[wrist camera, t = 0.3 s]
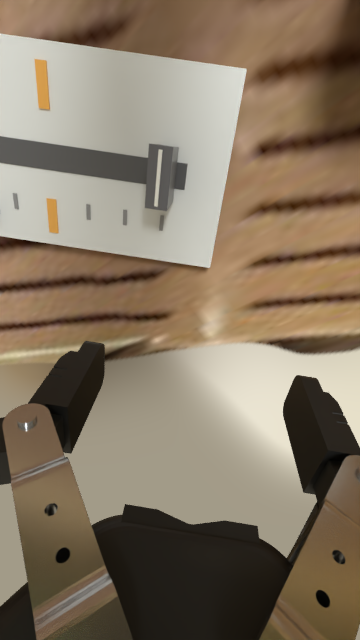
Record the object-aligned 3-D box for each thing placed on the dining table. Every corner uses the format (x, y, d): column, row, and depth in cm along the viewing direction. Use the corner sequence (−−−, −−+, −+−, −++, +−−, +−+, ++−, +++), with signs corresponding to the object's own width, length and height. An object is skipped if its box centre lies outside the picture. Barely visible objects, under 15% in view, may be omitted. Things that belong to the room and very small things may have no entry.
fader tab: (158, 144, 29) (148, 143, 25) (179, 147, 29) (173, 147, 25) (153, 199, 32) (144, 208, 27) (172, 202, 32) (166, 211, 27)
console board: (-57, 30, 28) (-92, 15, 25) (244, 73, 28) (249, 63, 25) (-19, 227, 37) (-41, 235, 34) (210, 262, 37) (209, 273, 34)
